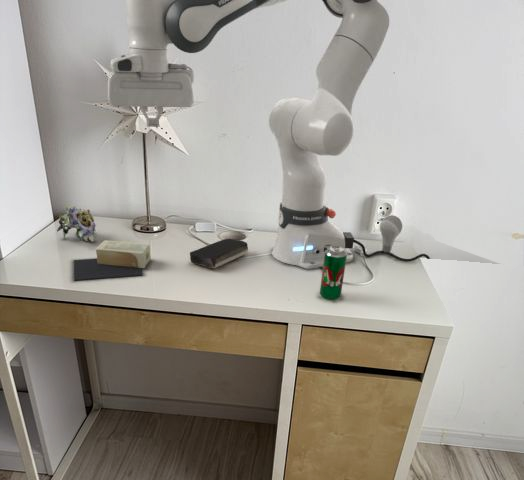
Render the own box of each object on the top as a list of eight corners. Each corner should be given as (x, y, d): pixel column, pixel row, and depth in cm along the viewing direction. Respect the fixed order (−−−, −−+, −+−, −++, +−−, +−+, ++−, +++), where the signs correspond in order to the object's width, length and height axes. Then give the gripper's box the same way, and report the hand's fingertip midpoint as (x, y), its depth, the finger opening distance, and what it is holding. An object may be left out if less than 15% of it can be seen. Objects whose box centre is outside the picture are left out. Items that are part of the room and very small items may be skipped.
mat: (137, 256, 138) (137, 255, 137) (142, 275, 128) (142, 274, 128) (74, 261, 133) (73, 260, 133) (74, 280, 124) (74, 279, 123)
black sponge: (211, 273, 131) (211, 260, 129) (187, 264, 135) (186, 250, 133) (250, 255, 142) (251, 242, 140) (227, 247, 146) (227, 235, 144)
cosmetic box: (151, 259, 136) (106, 254, 137) (150, 243, 133) (104, 239, 134) (143, 269, 130) (97, 264, 131) (142, 253, 128) (94, 248, 129)
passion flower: (92, 259, 148) (88, 236, 137) (53, 251, 146) (46, 227, 135) (101, 227, 152) (98, 201, 141) (63, 218, 150) (57, 192, 139)
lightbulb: (387, 259, 145) (395, 221, 139) (370, 252, 149) (377, 214, 143) (400, 254, 148) (408, 217, 142) (383, 247, 152) (390, 211, 146)
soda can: (338, 291, 126) (345, 245, 119) (342, 301, 122) (349, 253, 115) (318, 291, 126) (324, 244, 119) (320, 300, 121) (326, 252, 115)
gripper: (191, 63, 126) (192, 124, 133) (103, 60, 120) (110, 124, 128) (195, 65, 121) (196, 128, 128) (105, 62, 115) (111, 128, 123)
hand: (153, 126), depth 128 cm, fingers closed
